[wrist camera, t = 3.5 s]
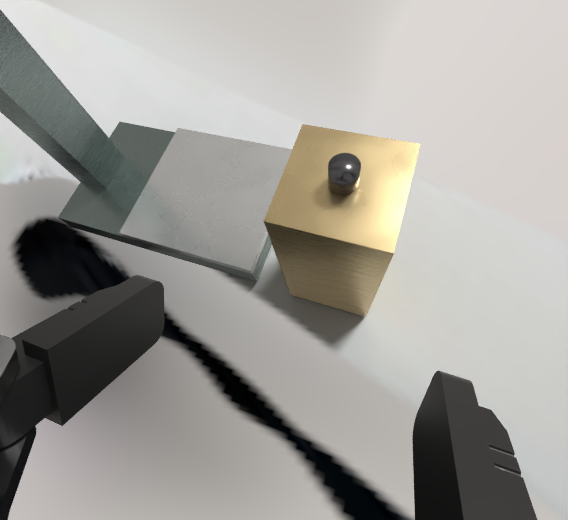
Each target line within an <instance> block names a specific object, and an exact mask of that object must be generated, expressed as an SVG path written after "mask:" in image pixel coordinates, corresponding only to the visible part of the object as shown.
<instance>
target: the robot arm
mask: <svg viewBox="0 0 568 520" xmlns="http://www.w3.org/2000/svg"><path fill="white" fill-rule="evenodd" d="M163 328H164V288H163V285H162V283H160V282H158V281H155V280H152V279H149V278H146V277H142V276H139V275H136V276H133V277H131V278H130V279H128V280H126V281H124V282H123V283H121V284H119V285H117V286H113V287H110V288H107V289H103V290H100V291H97V292H95V293H93V294H91V295H90V296H88V297H86V298H84V299H82V301H81V302H77V303H75V304H73V305H71V306H70V307H69V308H68V309H64V310H62V311H60V312H59V313H57V314H55V315H53V316H51V317H49V318H48V319H46V320H44V321H42V322H40V323H38V324H37V325H35V326H33V327H31V328H29V329H28V330H26V331H24V332H22V333H20V334H19V335H17V336H15V337H13V338H9V337H6V336H1V335H0V520H8V516H9V511H10V508H11V505H12V502H13V499H14V496H15V494H16V491H17V488H18V485H19V482H20V479H21V476H22V474H23V471H24V468H25V465H26V462H27V459H28V456H29V453H30V451H31V448H32V445H33V442H34V439H35V436H36V426H35V425H37V424H38V423H39V422H40V421H41V420H43V419H44V418H47V419H49V420H51V421H53V422H55V423H57V424H59V425H61V426H63V425H64V424H65V423H66V422H67V421H68V420H69V419H70V418H72V417H73V416H74V415H75V414H76V413H77V412H78V411H79V410H81V409H82V408H83V407H84V406H85V405H86V404H87V403H89V402H90V401H91V400H92V399H93V398H94V397H95V396H97V395H98V393H100V392H101V391H102V390H103V389H104V388H105V387H106V386H108V385H109V384H110V383H111V382H112V381H113V380H115V379H116V378H117V377H118V376H119V375H120V374H121V373H122V372H123V371H125V370H126V369H127V368H128V367H129V366H130V365H131V364H133V363H134V362H135V361H136V360H137V359H138V358H139V357H140V356H142V355H143V354H144V353H145V352H146V351H147V350H148V349H150V348H151V347H152V346H153V345H154V344H155V343H156V342H157V341H158V339H159V338H160V336H161V334H162V331H163ZM514 454H515V453H514V450H513V447H512V444H511V441H510V438H509V435H508V433H507V431H506V429H505V428H504V427H503V425H502V424H501V423H500V421H499V420H498V419H497V417H496V416H495V414H494V413H493V412H492V410H490V409H487V408H484V407H480V406H478V402H477V398H476V395H475V391H474V387H473V384H472V382H471V381H469V380H466V379H463V378H460V377H457V376H454V375H450V374H447V373H444V372H441V371H437V372H436V373H435V374H434V376H433V378H432V380H431V383H430V385H429V387H428V390H427V392H426V394H425V397H424V399H423V401H422V404H421V406H420V408H419V410H418V413H417V416H416V419H415V423H414V429H413V466H414V499H415V520H537V518H536V515H535V512H534V509H533V506H532V503H531V500H530V497H529V494H528V491H527V488H526V485H525V483H524V480H523V478H522V477H521V471H520V468H519V465H518V462H517V459H516V458H515V457H514Z"/></svg>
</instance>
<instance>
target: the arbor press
mask: <svg viewBox="0 0 568 520" xmlns="http://www.w3.org/2000/svg"><path fill="white" fill-rule="evenodd" d="M0 112H1V113H2V114H4V115H5V116H6V117H7V118H8V119H9V120H10V121H12V122H13V123H14V124H15V125H16V126H17V127H18V128H20V129H21V130H22V131H23V132H24V133H25V134H26V135H28V136H29V137H30V138H31V139H32V140H33V141H34V142H36V143H37V144H38V145H39V146H40V147H41V148H42V149H44V150H45V151H46V152H47V153H48V154H49V155H50V156H52V157H53V158H54V159H55V160H56V161H57V162H58V163H60V164H61V165H62V166H63V167H64V168H65V169H66V170H68V171H69V172H70V173H71V174H72V175H73V176H75V177H76V178H77V179H78V180H79V181H80V182H81V183H80V184H79V186H78V188H77V189H76V191H75V192H74V194H73V195H72V197H71V198H70V200H69V202H68V203H67V205H66V206H65V208H64V209H63V211H62V212H61V214H60V215H59V217H58V218H59V219H61V220H62V221H64V222H65V223H67V224H68V225H70V226H71V227H74V228H77V229H80V230H84V231H87V232H91V233H94V234H97V235H101V236H104V237H108V238H111V239H115V240H118V241H121V242H125V243H128V244H131V245H135V246H138V247H142V248H145V249H149V250H152V251H155V252H159V253H162V254H165V255H169V256H172V257H175V258H179V259H183V260H186V261H189V262H192V263H196V264H199V265H203V266H206V267H209V268H213V269H216V270H220V271H223V272H226V273H230V274H233V275H237V276H240V277H243V278H247V279H250V280H254V281H258V278H259V275H260V273H261V270H262V268H263V265H264V262H265V260H266V257H267V255H268V252H269V249H270V247H271V244H272V243H271V240H270V237H269V235H268V232H267V229H266V226H265V224H264V219H265V216H266V214H267V211H268V209H269V206H270V204H271V202H272V199H273V197H274V194H275V192H276V189H277V187H278V184H279V182H280V179H281V177H282V174H283V172H284V169H285V167H286V164H287V162H288V159H289V157H290V154H291V152H292V150H291V149H286V148H281V147H276V146H270V145H265V144H260V143H254V142H249V141H244V140H239V139H233V138H228V137H223V136H217V135H212V134H207V133H201V132H196V131H191V130H186V129H180V128H178V129H177V131H176V132H170V131H165V130H160V129H155V128H149V127H144V126H139V125H134V124H129V123H124V122H119V124H118V125H117V127H116V128H115V130H114V131H113V133H112V135H111V136H110V138H108V137H107V135H106V134H105V133H104V132H103V131H102V129H101V128H100V127H99V126H98V125H97V124H96V122H95V121H94V120H93V119H92V118H91V116H90V115H89V114H88V113H87V112H86V111H85V109H84V108H83V107H82V106H81V105H80V103H79V102H78V101H77V100H76V99H75V97H74V96H73V95H72V94H71V93H70V92H69V90H68V89H67V88H66V87H65V86H64V84H63V83H62V82H61V81H60V80H59V79H58V77H57V76H56V75H55V74H54V73H53V71H52V70H51V69H50V68H49V67H48V66H47V64H46V63H45V62H44V61H43V60H42V58H41V57H40V56H39V55H38V54H37V52H36V51H35V50H34V49H33V48H32V47H31V45H30V44H29V43H28V42H27V41H26V39H25V38H24V37H23V36H22V35H21V34H20V32H19V31H18V30H17V29H16V28H15V26H14V25H13V24H12V23H11V22H10V21H9V19H8V18H7V17H6V16H5V15H4V13H3V12H2V11H1V10H0Z"/></svg>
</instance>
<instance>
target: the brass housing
mask: <svg viewBox="0 0 568 520" xmlns="http://www.w3.org/2000/svg"><path fill="white" fill-rule="evenodd" d="M419 148H420V144H417V143H411V142H405V141H399V140H393V139H387V138H381V137H375V136H369V135H363V134H357V133H351V132H346V131H339V130H334V129H327V128H322V127H316V126H310V125H304V124H303V125H302V127H301V130H300V132H299V135H298V137H297V140H296V142H295V145H294V147H293V150H292V152H291V154H290V157H289V159H288V162H287V164H286V167H285V169H284V172H283V174H282V177H281V179H280V182H279V184H278V187H277V189H276V192H275V194H274V197H273V199H272V202H271V204H270V206H269V209H268V211H267V214H266V216H265V219H264V224H265V226H266V229H267V232H268V235H269V237H270V240H271V243H272V245H273V248H274V251H275V253H276V256H277V259H278V261H279V264H280V267H281V270H282V272H283V275H284V278H285V280H286V283H287V286H288V288H289V291H290V294H291V295H293V296H297V297H300V298H304V299H307V300H310V301H314V302H317V303H320V304H324V305H327V306H330V307H334V308H337V309H341V310H344V311H347V312H351V313H354V314H357V315H361V316H364V317H366V315H367V313H368V311H369V308H370V306H371V304H372V302H373V299H374V297H375V295H376V293H377V290H378V288H379V286H380V283H381V281H382V279H383V277H384V274H385V272H386V270H387V268H388V265H389V263H390V261H391V259H392V256H393V254H394V250H395V246H396V242H397V238H398V234H399V230H400V226H401V222H402V218H403V214H404V210H405V206H406V201H407V197H408V193H409V189H410V185H411V181H412V177H413V173H414V169H415V165H416V161H417V157H418V152H419Z"/></svg>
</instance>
